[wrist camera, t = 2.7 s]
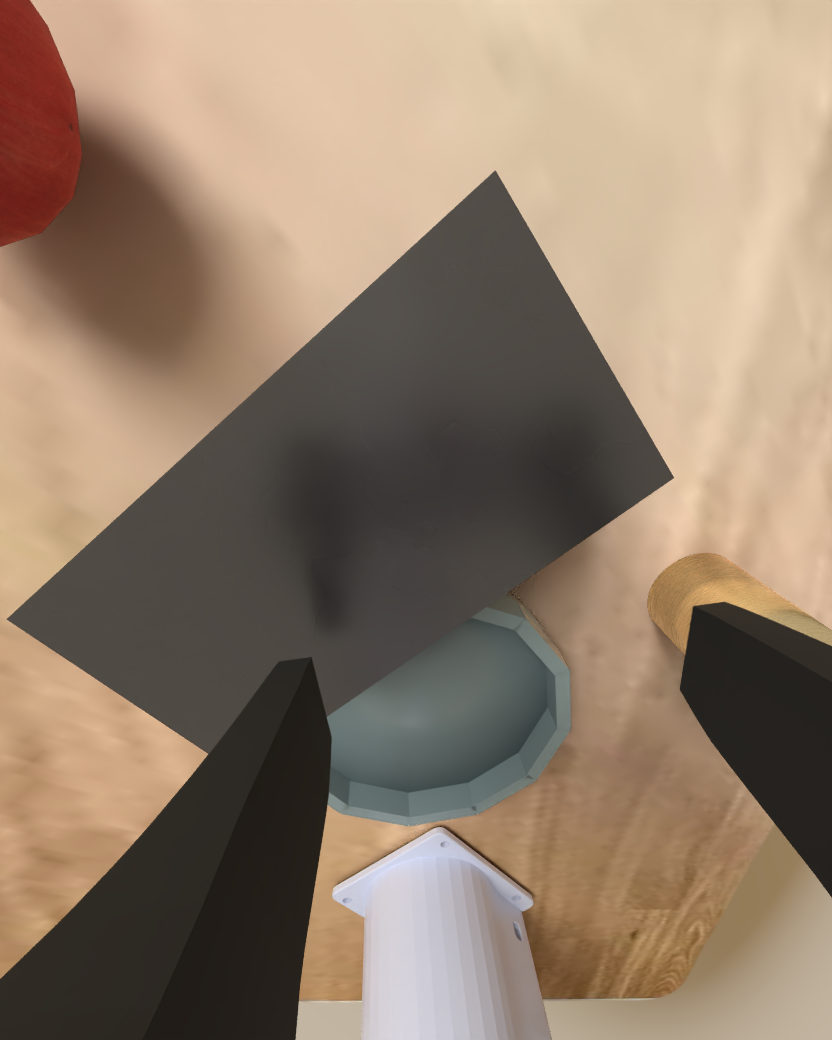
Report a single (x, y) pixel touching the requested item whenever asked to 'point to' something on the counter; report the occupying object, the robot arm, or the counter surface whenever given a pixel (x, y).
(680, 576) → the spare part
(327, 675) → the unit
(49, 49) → the onion
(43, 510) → the counter surface
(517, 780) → the plate
